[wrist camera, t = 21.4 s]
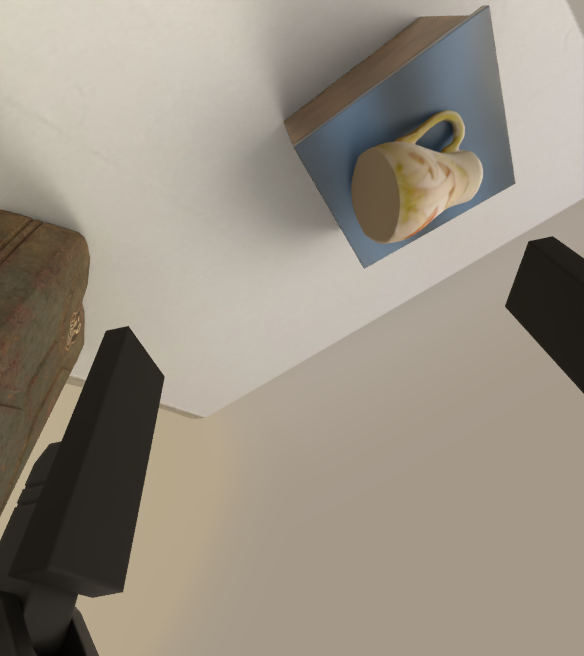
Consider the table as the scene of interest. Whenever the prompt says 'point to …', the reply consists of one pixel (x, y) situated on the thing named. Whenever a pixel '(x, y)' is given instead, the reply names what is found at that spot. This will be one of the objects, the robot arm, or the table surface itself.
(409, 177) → the mug
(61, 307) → the container
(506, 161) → the blue lid
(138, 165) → the table surface
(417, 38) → the storage box
